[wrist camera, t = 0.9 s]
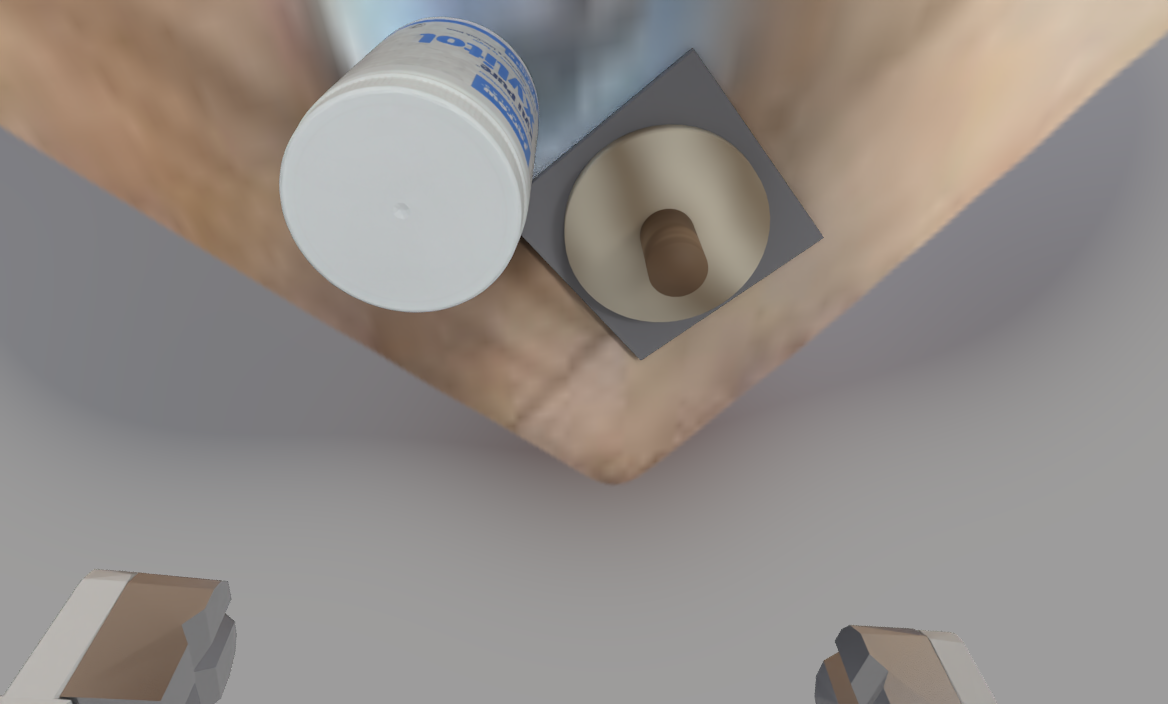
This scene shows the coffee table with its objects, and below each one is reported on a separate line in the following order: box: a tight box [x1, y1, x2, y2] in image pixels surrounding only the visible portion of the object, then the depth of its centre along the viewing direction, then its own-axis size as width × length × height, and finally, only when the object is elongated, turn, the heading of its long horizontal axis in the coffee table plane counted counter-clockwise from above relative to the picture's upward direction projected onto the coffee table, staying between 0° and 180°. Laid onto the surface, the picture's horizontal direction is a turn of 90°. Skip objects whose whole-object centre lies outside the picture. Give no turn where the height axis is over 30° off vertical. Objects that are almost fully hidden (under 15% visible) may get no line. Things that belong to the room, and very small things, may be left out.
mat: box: [521, 48, 824, 360], centre depth 44 cm, size 14×14×1 cm
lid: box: [564, 124, 770, 322], centre depth 41 cm, size 12×12×6 cm
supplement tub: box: [279, 17, 539, 312], centre depth 34 cm, size 10×10×15 cm
